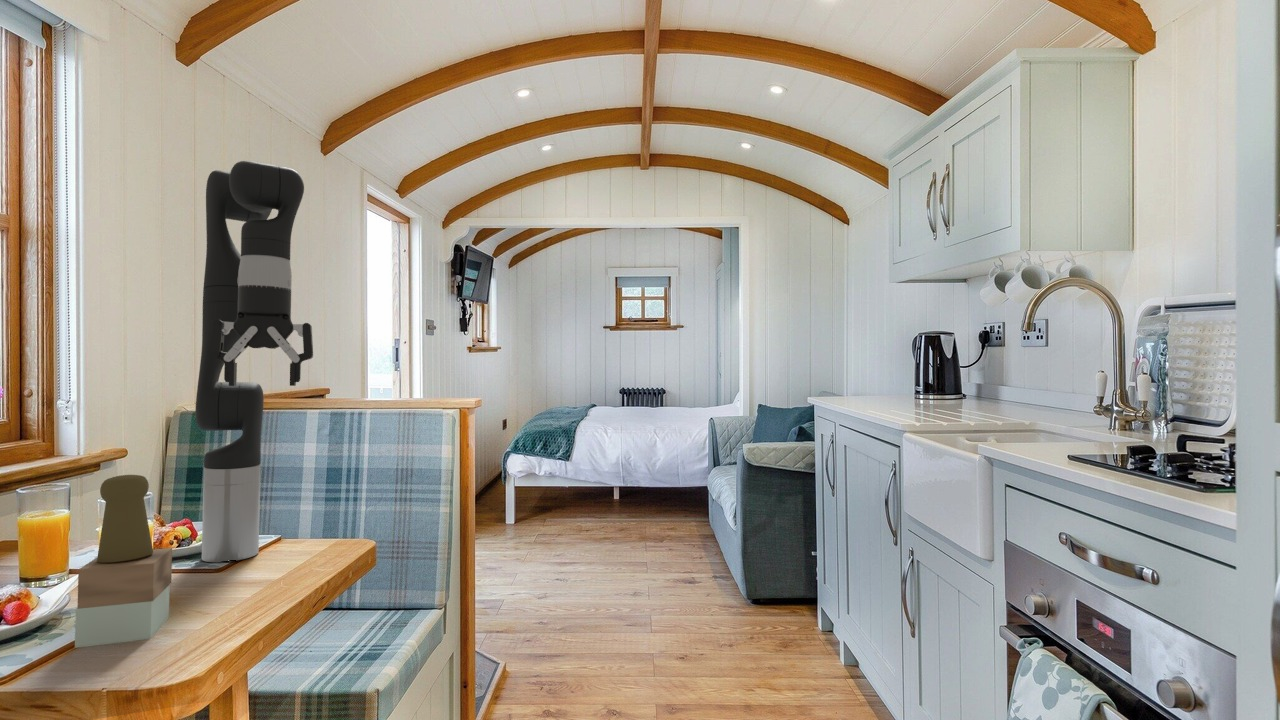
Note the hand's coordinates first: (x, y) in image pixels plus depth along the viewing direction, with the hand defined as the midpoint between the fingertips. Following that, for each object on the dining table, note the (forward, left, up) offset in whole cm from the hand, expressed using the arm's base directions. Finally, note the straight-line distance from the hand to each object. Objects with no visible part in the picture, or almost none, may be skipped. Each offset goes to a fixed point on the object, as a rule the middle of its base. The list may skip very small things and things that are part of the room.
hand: (262, 385), depth 105 cm
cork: (+12, -14, -23) cm, 30 cm away
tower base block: (+12, -14, -33) cm, 38 cm away
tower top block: (+12, -14, -28) cm, 34 cm away
